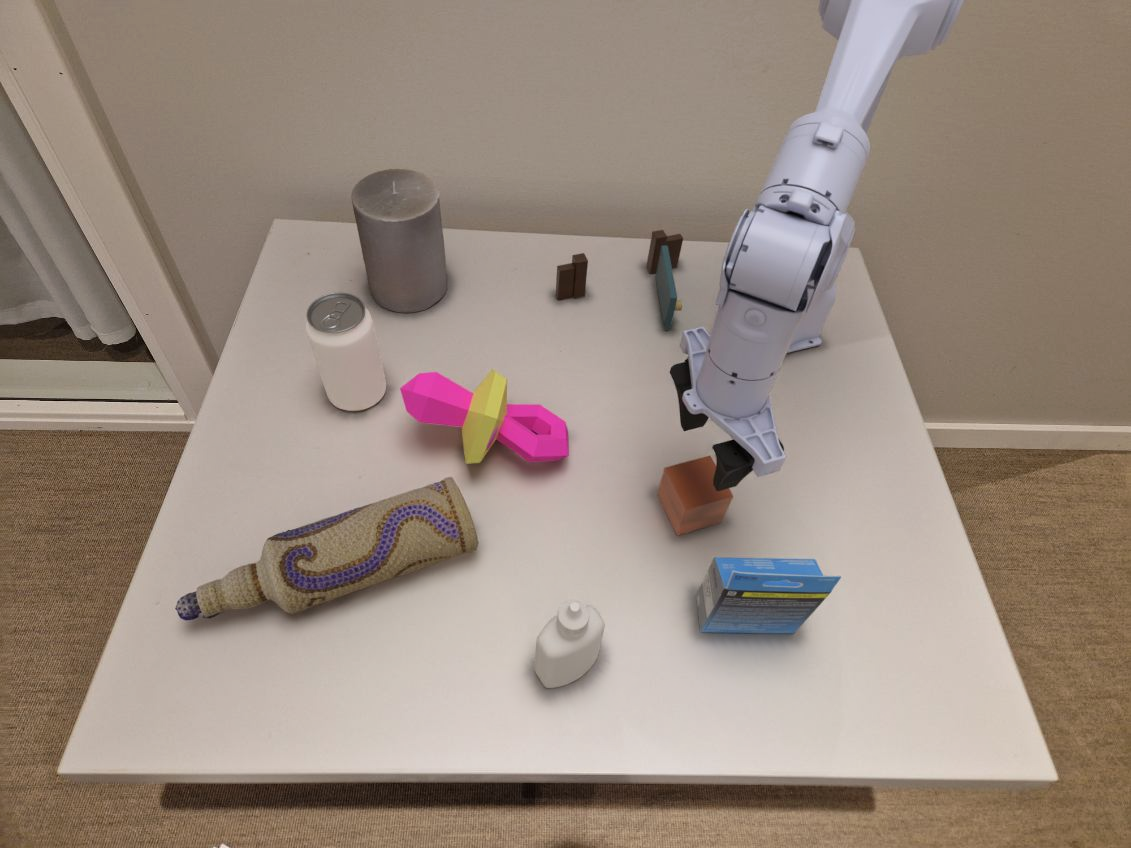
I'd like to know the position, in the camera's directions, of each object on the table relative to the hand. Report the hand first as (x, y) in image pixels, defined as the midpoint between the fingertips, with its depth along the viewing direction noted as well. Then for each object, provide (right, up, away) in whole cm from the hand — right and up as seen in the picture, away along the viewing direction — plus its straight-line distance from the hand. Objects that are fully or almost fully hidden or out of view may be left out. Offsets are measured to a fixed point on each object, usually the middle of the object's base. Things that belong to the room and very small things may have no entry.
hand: (708, 455), depth 66 cm
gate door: (0, +18, +25) cm, 31 cm away
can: (-36, +6, +15) cm, 39 cm away
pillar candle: (-33, +20, +25) cm, 46 cm away
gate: (-6, +21, +27) cm, 35 cm away
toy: (-21, +1, +11) cm, 24 cm away
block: (-1, -6, +7) cm, 9 cm away
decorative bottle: (-34, -10, +2) cm, 35 cm away
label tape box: (+3, -15, +1) cm, 15 cm away
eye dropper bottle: (-13, -18, -3) cm, 22 cm away
